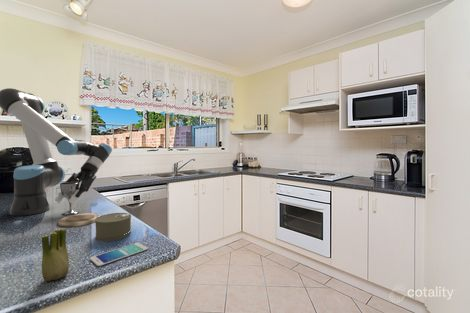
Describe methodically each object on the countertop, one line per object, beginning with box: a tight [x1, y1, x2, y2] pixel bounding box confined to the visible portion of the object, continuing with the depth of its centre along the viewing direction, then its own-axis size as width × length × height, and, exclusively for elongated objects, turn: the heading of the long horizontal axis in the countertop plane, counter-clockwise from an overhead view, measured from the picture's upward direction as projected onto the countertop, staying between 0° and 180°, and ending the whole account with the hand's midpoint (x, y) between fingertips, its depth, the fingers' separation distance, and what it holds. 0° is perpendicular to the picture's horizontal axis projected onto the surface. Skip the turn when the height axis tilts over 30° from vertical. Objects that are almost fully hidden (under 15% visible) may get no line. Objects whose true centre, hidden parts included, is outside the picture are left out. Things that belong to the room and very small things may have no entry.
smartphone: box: [89, 242, 149, 268], centre depth 71 cm, size 8×1×15 cm
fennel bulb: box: [41, 228, 70, 282], centre depth 58 cm, size 6×5×12 cm
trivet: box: [57, 212, 99, 228], centre depth 104 cm, size 16×16×1 cm
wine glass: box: [59, 181, 81, 216], centre depth 116 cm, size 8×8×15 cm
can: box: [94, 212, 132, 242], centre depth 87 cm, size 12×12×7 cm
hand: (63, 201), depth 112 cm, fingers closed on wine glass, 8 cm apart
